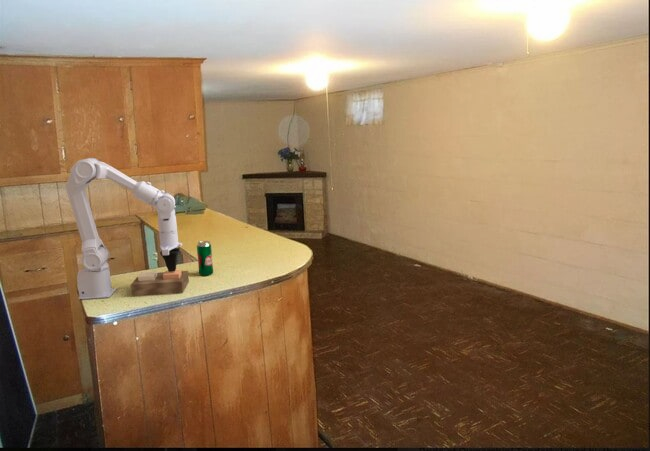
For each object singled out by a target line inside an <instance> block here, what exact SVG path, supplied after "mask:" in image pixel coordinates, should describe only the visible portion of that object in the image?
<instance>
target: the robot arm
mask: <svg viewBox="0 0 650 451" xmlns="http://www.w3.org/2000/svg"><path fill="white" fill-rule="evenodd" d="M69 171H70V172H69V176H68V179H67V182H66V185H65V188H66V189H65V190H66V193H67V196H68V199H69V203H70V206H71V209H72V213H73V215H74V216H73V217H74V220H75V224H76V227H77V230H78V233H79V236H80V239H81V249H80V250H81V254H82V256H81V265H82V266H83V269H79V270H78V272H77V275H76V282H77V289H78V290H77V291H78V300H88V299H89V300H90V299H103V298H105V299H106V298H110V297H111V296H112V295H113V294H114V293H115V292H116V290H117V288H112V279H111V272H110V264H109V263H108V260H109V259H110V258H109V257H110V251H109V250H108V248H107V247H105V245H104V242H103V240H102V239H101V238H100V235H99V233H98V229H97V226H96V222H95V218H94V216H93V213H92V209H91V205H90V201H89V198H88V195H87V191H86V190H87V188H88V187H89V185H90V184H91V182H92V181H93V180H95V179H97V180H105V179H107V180H110V181H111V182H114V183H116V184H117V185H119V186H122V187H124V188H126V189H128V190H130V191H132V193H133V194H132V195H133V197H134V198H136V199H138V200H140V201H141V202H144V203H145V204H147V205H148V206H150V207H154V209H155V210H156V211H157V224H158V235H159V236H158V237H159V243H160V244H159V248H160V249H161V251H160V252H159V253H160V256H161V257H162V259H163V261H164V262H165V266H166V268H167V271H169V272H173V271H175V270H177V263H178V262H177V261H178V256H179V253H180V250H181V249H180V248H179V247H183V242H179V236H178V234H179V233H178V226H177V225H178V224H177V223H178V222H177V216H176V211H175V206H176V199H175V198H174V196H173V195H171V193H169V192H165V190H164V189H162V190H160V189H158V188H156V187H155V186H153V185H152V183H151V182H150V181H147V182H146V181H145V180H143V181H136V180H135V179H133V178H131V177H129V176H128V175H127V174H125V173H123V172H121V171H120V170H118V169H117V168H115V167H113V166H112V165H110V164H108V163H107V162H103V161H100V160H99V159H97V158H94V157H88V158H85V159H79V160H77V161H76V162H75V163H74V164H73V165H72V166H71V167H70V169H69Z"/></svg>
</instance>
